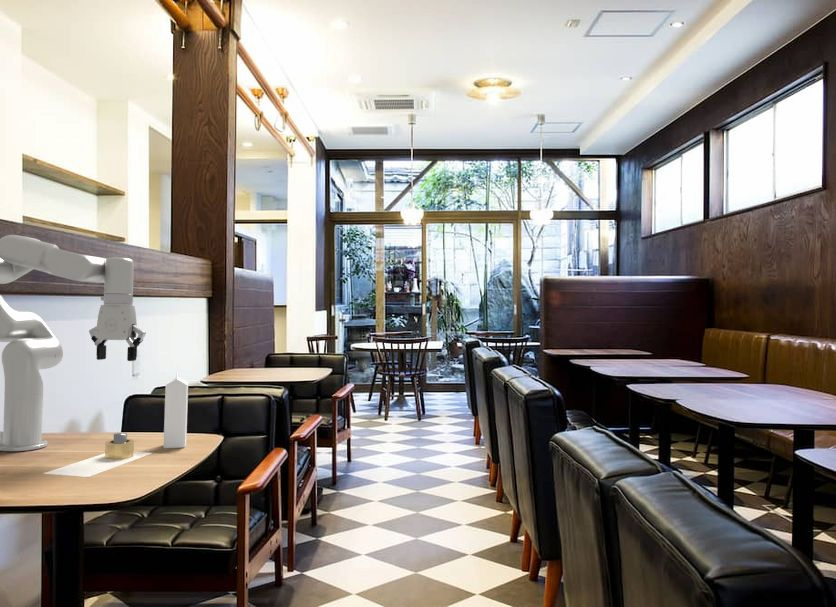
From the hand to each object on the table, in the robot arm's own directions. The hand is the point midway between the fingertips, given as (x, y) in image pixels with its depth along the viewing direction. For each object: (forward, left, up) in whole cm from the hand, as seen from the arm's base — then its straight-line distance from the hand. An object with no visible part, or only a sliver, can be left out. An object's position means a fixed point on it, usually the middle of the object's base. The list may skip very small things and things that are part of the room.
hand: (116, 360), depth 179 cm
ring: (+9, -10, -25) cm, 28 cm away
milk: (+12, +12, -26) cm, 31 cm away
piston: (+9, -10, -25) cm, 28 cm away
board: (+9, -17, -26) cm, 33 cm away
